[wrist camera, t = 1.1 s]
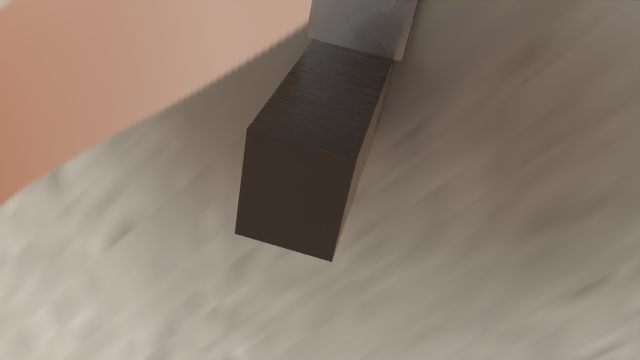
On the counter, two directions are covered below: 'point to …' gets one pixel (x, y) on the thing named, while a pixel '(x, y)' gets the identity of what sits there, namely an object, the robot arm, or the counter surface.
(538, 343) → the counter surface
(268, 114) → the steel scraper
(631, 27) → the counter surface
